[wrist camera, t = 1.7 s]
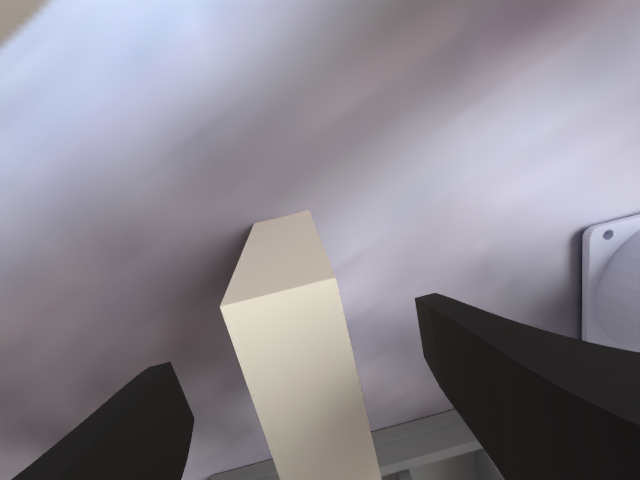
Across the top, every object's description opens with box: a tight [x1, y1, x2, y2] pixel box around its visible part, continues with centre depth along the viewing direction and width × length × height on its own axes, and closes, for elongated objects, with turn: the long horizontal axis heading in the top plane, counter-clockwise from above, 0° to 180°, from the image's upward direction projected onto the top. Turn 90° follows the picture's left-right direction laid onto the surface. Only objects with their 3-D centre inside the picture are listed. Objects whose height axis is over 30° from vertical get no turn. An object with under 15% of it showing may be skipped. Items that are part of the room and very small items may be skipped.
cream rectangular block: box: [220, 210, 382, 480], centre depth 12 cm, size 2×6×8 cm, turn 13°
